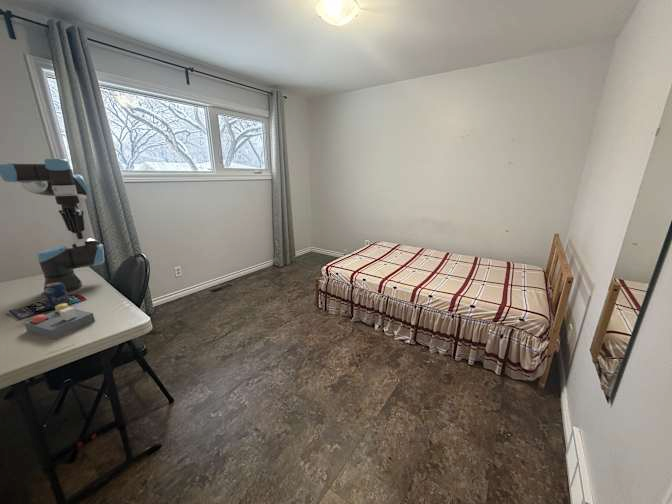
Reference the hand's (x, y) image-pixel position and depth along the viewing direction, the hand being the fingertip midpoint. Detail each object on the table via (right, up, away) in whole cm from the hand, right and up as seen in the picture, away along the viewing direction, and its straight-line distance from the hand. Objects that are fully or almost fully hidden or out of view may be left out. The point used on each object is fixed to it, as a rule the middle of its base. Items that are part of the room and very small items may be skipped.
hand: (80, 245), depth 127 cm
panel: (+4, -35, -13) cm, 37 cm away
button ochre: (+1, -29, -9) cm, 31 cm away
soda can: (-13, -30, +4) cm, 33 cm away
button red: (-2, -33, -16) cm, 36 cm away
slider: (+9, -31, -15) cm, 36 cm away
